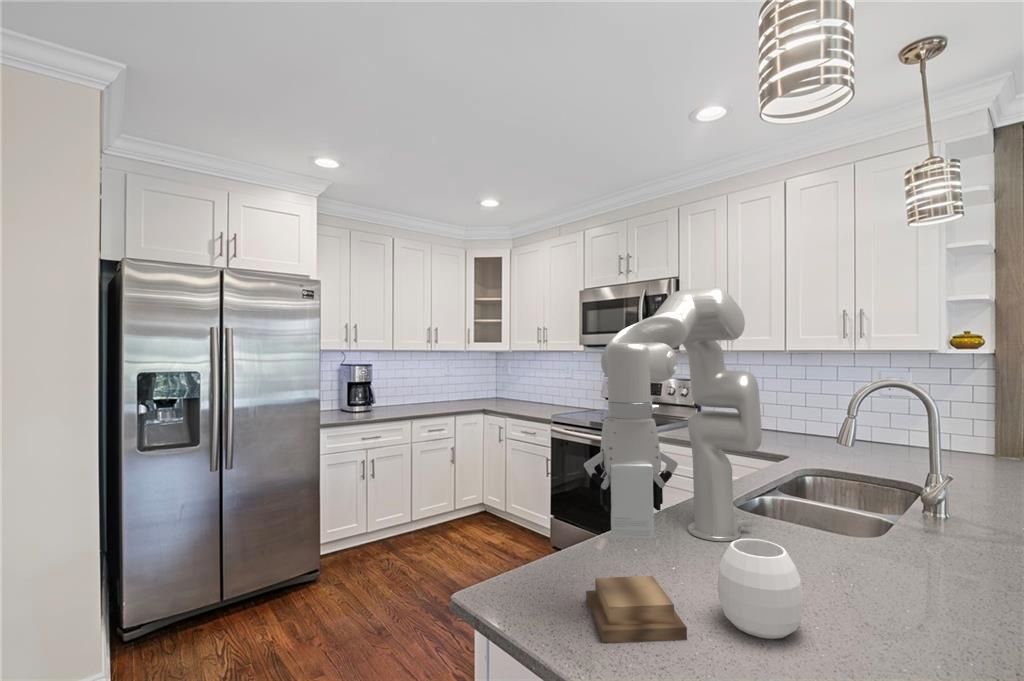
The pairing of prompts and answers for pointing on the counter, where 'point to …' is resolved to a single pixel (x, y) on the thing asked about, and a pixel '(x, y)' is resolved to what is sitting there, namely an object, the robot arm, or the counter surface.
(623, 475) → the supplement box
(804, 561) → the counter surface
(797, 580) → the white vase
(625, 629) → the plinth
